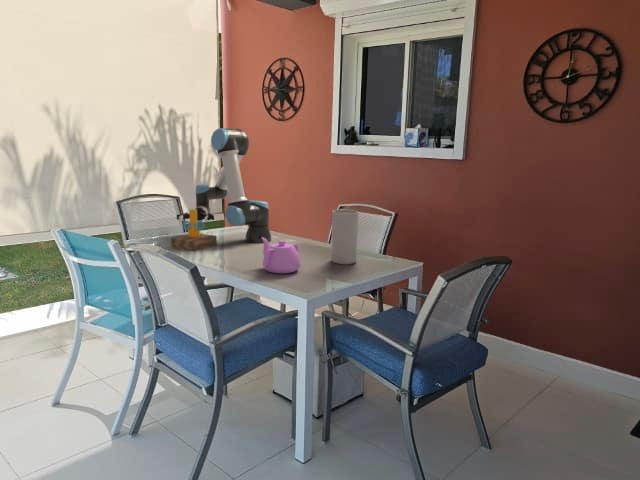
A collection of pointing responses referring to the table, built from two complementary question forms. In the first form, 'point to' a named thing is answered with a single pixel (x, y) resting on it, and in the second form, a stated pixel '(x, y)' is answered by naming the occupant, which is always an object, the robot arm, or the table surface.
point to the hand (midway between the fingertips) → (192, 219)
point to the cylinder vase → (344, 236)
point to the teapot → (281, 257)
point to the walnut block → (194, 242)
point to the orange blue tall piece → (193, 225)
